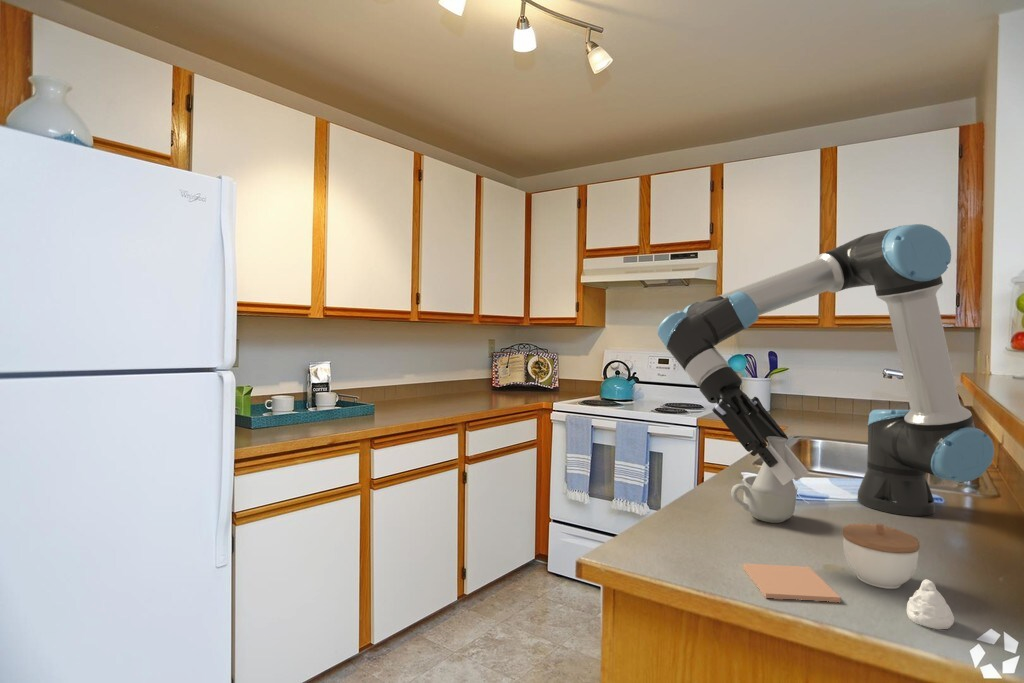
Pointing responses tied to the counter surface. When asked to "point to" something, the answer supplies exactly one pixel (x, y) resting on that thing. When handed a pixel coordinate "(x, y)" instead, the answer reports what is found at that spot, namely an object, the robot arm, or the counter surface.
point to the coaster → (790, 582)
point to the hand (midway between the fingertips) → (795, 478)
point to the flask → (766, 477)
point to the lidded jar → (880, 554)
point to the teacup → (764, 503)
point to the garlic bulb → (929, 607)
